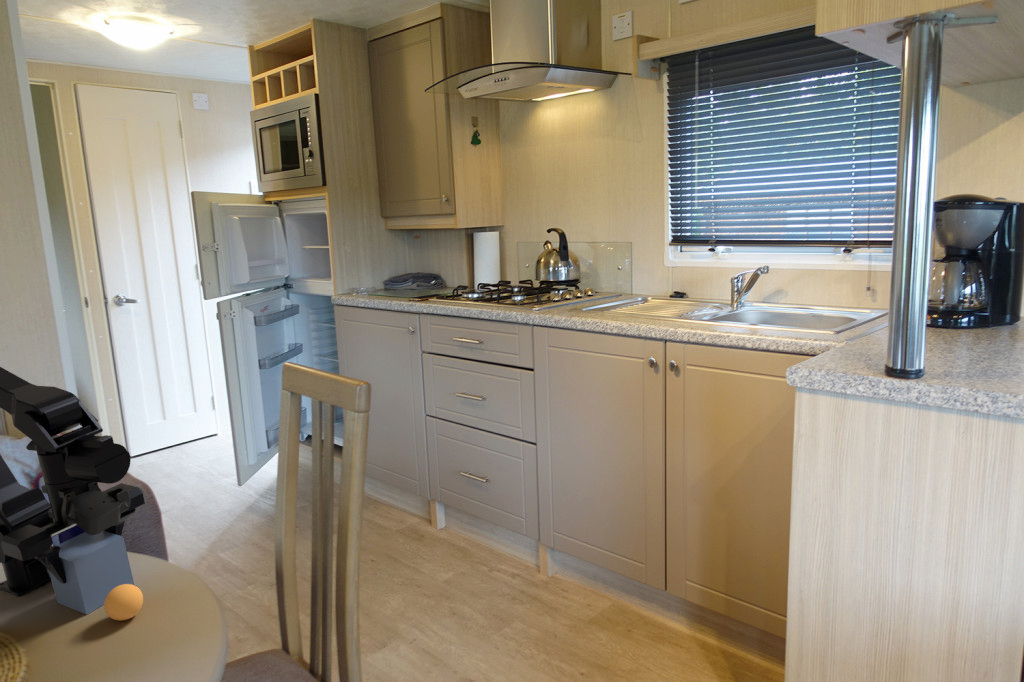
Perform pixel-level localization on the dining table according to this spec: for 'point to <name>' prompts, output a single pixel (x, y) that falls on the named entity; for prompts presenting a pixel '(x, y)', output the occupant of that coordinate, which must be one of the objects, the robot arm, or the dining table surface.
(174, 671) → the dining table surface
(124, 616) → the ball
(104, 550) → the matte slate cube
